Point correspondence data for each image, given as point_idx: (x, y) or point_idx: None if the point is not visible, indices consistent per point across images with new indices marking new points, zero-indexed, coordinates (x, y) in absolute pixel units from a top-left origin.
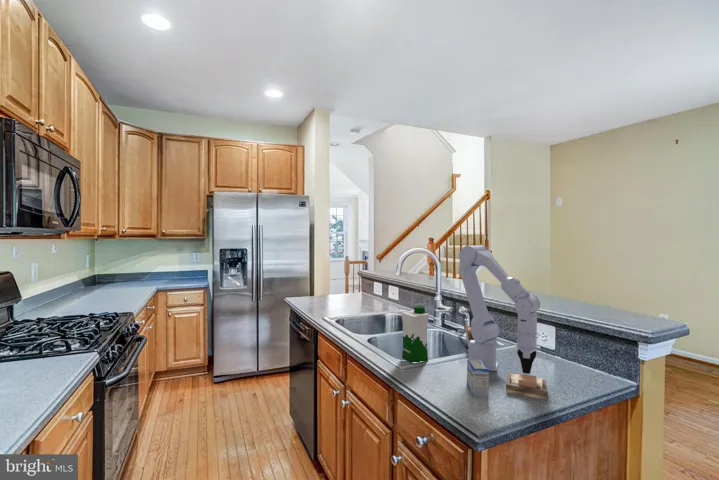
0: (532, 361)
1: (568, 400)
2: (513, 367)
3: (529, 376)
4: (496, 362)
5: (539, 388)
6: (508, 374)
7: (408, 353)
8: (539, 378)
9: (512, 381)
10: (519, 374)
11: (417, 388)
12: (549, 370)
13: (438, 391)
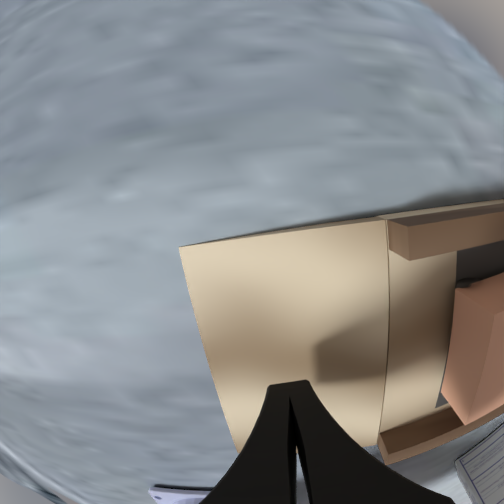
0: (387, 470)
1: (474, 75)
2: (126, 436)
3: (502, 355)
4: (151, 494)
5: (475, 253)
6: (401, 457)
7: None
8: (203, 288)
9: (421, 412)
10: (477, 415)
11: None
12: (10, 242)
13: None
